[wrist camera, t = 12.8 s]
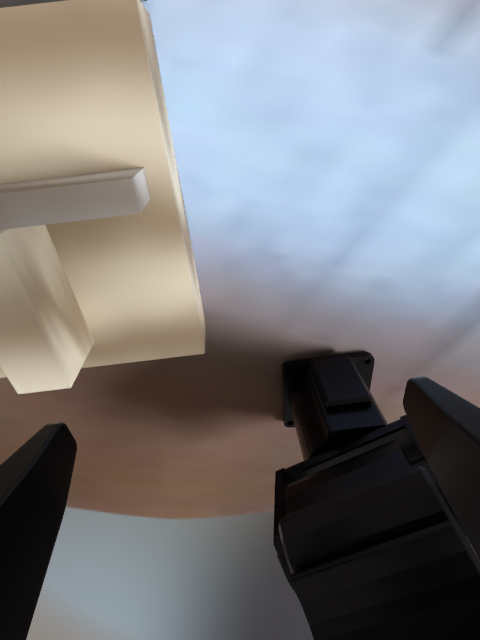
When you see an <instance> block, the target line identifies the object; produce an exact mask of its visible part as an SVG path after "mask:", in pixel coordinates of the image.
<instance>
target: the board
mask: <svg viewBox="0 0 480 640" xmlns="http://www.w3.org/2000/svg"><path fill="white" fill-rule="evenodd" d="M141 167H144V168H145V172H146V177H147V181H148V185H149V190H150V194H151V199H150V200H149V202H148V203H147V205H146V206H145V208H144V209H143V211H142V212H141V214H132V215H123V216H115V217H106V218H98V219H89V220H81V221H72V222H64V223H55V224H47V225H46V228H47V230H48V233H49V235H50V237H51V240H52V242H53V244H54V247H55V249H56V252H57V254H58V256H59V259H60V261H61V264H62V266H63V268H64V271H65V273H66V276H67V278H68V280H69V283H70V285H71V287H72V290H73V292H74V295H75V297H76V299H77V302H78V304H79V307H80V309H81V311H82V314H83V316H84V318H85V321H86V323H87V326H88V328H89V330H90V333H91V335H92V338H93V340H94V343H93V345H92V347H91V349H90V351H89V353H88V355H87V357H86V359H85V361H84V363H83V365H82V367H81V368H87V367H96V366H104V365H113V364H121V363H130V362H138V361H147V360H155V359H164V358H172V357H181V356H189V355H198V354H205V335H206V323H205V317H204V312H203V306H202V301H201V295H200V290H199V284H198V279H197V273H196V268H195V262H194V257H193V251H192V246H191V240H190V235H189V229H188V224H187V218H186V213H185V207H184V202H183V196H182V191H181V185H180V180H179V174H178V169H177V163H176V158H175V152H174V147H173V141H172V136H171V131H170V125H169V120H168V114H167V109H166V103H165V98H164V92H163V87H162V81H161V76H160V70H159V65H158V59H157V54H156V48H155V43H154V37H153V32H152V26H151V21H150V15H149V13H148V12H147V10H146V9H145V7H144V6H143V4H142V3H141V2H140V0H66V1H57V2H48V3H39V4H30V5H21V6H13V7H4V8H0V184H4V183H13V182H21V181H30V180H38V179H47V178H55V177H64V176H73V175H81V174H90V173H98V172H107V171H115V170H124V169H133V168H141ZM3 377H7V376H6V374H5V373H4V371H3V370H2V368H1V367H0V378H3Z"/></svg>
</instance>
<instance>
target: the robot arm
mask: <svg viewBox="0 0 480 640" xmlns="http://www.w3.org/2000/svg"><path fill="white" fill-rule="evenodd" d="M366 359H367V360H366ZM364 360H365V361H364ZM373 366H374V357H373V356H372V354H371V353H368V352H365V353H357V354H348V355H340V356H331V357H323V358H314V359H306V360H298V361H289V362H285V363H284V364H283V365H282V367H281V372H282V400H283V421H284V425H285V426H286V427H296V431H297V435H298V439H299V443H300V447H301V451H302V455H303V459H304V461H302V462H300V463H298V464H295V465H293V466H291V467H289V468H286V469H284V468H282V469H280V470H278V471H276V476H275V506H274V546H275V549H276V551H277V558H278V560H279V562H280V564H281V566H282V568H283V571H284V573H285V576H286V578H287V580H288V582H289V583H290V585H291V587H292V588H293V590H294V591H295V593H296V595H297V597H298V598H299V601H300V603H301V605H302V608H303V610H304V613H305V615H306V617H307V620H308V623H309V625H310V629H311V632H312V635H313V638H314V640H480V561H479V560H480V408H479V407H477V406H475V405H474V404H472V403H470V402H469V401H467V400H465V399H463V398H462V397H460V396H458V395H457V394H455V393H453V392H451V391H450V390H448V389H446V388H445V387H443V386H441V385H439V384H438V383H436V382H434V381H432V380H431V379H429V378H427V377H416V378H410V379H409V380H408V381H407V385H406V389H405V394H404V398H403V406H404V410H405V412H406V414H407V415H404V416H402V417H400V418H401V419H399V420H397V421H395V422H392V423H390V424H387V422H386V420H385V418H384V416H383V414H382V413H381V411H380V409H379V407H378V405H377V404H376V402H375V400H374V398H373V396H372V394H371V393H370V385H371V379H372V373H373ZM288 368H291V369H289V370H286V369H288ZM76 452H77V444H76V441H75V439H74V437H73V436H72V434H71V432H70V431H69V429H68V427H67V425H66V424H65V423H63V422H59V423H51V424H47V425H45V426H44V427H43V428H42V429H40V430H39V431H38V432H37V433H36V434H35V435H34V436H33V437H31V438H30V439H29V440H28V441H27V442H26V443H25V444H24V445H23V446H21V447H20V448H19V449H18V450H17V451H16V452H15V453H14V454H13V455H11V456H10V457H9V458H8V459H7V460H6V461H5V462H4V463H2V464H1V465H0V640H26V638H27V634H28V631H29V628H30V624H31V621H32V618H33V614H34V611H35V608H36V605H37V601H38V598H39V595H40V591H41V588H42V585H43V582H44V578H45V575H46V572H47V568H48V565H49V562H50V558H51V555H52V552H53V548H54V545H55V542H56V538H57V535H58V532H59V529H60V525H61V522H62V519H63V515H64V511H65V507H66V503H67V498H68V493H69V488H70V483H71V478H72V473H73V467H74V462H75V457H76ZM470 544H471V545H472V547H473V548H472V547H471V545H470ZM473 549H474V550H475V552H476V554H477V555H476V554H475V552H474V550H473ZM477 556H478V557H477ZM478 558H479V559H478Z"/></svg>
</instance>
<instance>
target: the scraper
mask: <svg viewBox="0 0 480 640" xmlns="http://www.w3.org/2000/svg"><path fill="white" fill-rule="evenodd" d="M150 199H151V194H150V190H149V185H148V181H147V177H146V172H145V168H144V167H141V168H133V169H124V170H115V171H107V172H98V173H90V174H81V175H73V176H64V177H55V178H47V179H38V180H30V181H21V182H13V183H4V184H0V367H1V368H2V370H3V371H4V373H5V374H6V376H7V377H8V379H9V381H10V382H11V384H12V385H13V387H14V388H15V390H16V391H17V393H18V394H24V393H33V392H41V391H49V390H58V389H66V388H71V387H72V385H73V383H74V381H75V379H76V377H77V375H78V373H79V371H80V369H81V367H82V365H83V363H84V361H85V359H86V357H87V355H88V353H89V351H90V349H91V347H92V345H93V343H94V340H93V338H92V335H91V333H90V330H89V328H88V326H87V323H86V321H85V318H84V316H83V314H82V311H81V309H80V307H79V304H78V302H77V299H76V297H75V295H74V292H73V290H72V287H71V285H70V283H69V280H68V278H67V276H66V273H65V271H64V268H63V266H62V264H61V261H60V259H59V256H58V254H57V252H56V249H55V247H54V244H53V242H52V240H51V237H50V235H49V233H48V230H47V228H46V225H47V224H55V223H64V222H72V221H81V220H89V219H98V218H106V217H115V216H123V215H132V214H141V212H142V211H143V209H144V208H145V206H146V205H147V203H148V202H149V200H150Z"/></svg>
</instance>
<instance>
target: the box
mask: <svg viewBox="0 0 480 640" xmlns="http://www.w3.org/2000/svg"><path fill="white" fill-rule="evenodd" d="M57 1H66V0H0V8H4V7H13V6H21V5H30V4H39V3H48V2H57ZM140 1H147V0H140Z"/></svg>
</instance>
